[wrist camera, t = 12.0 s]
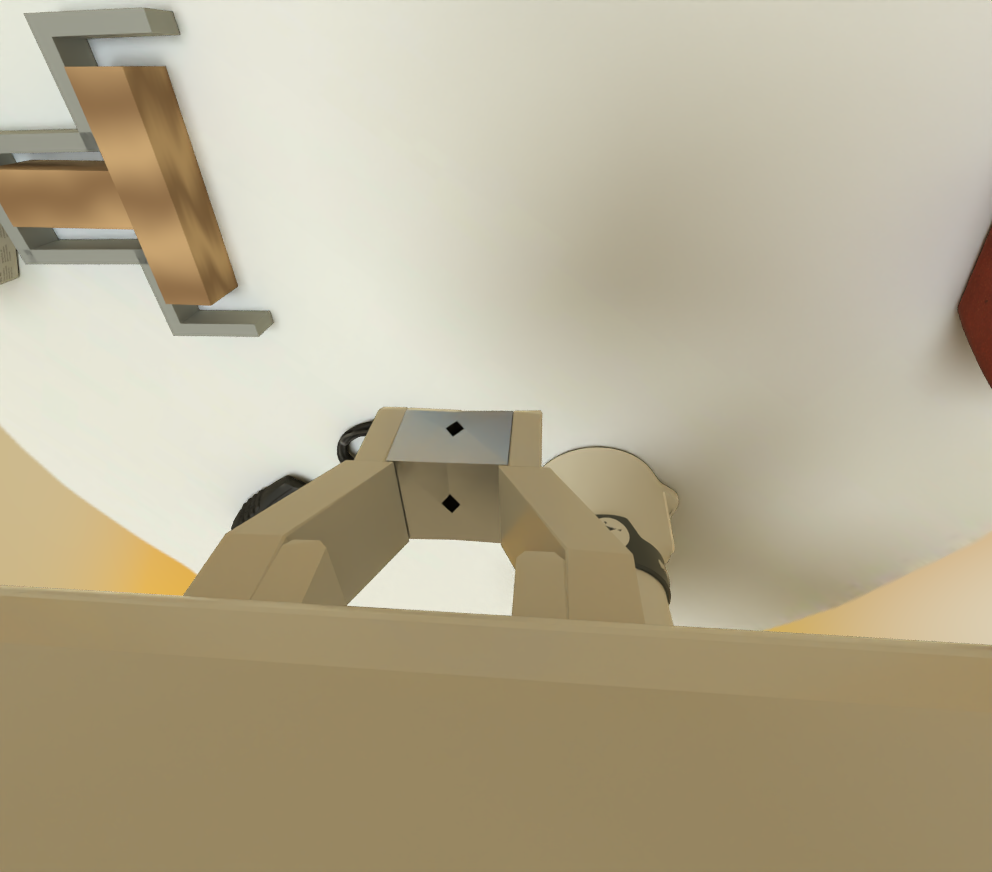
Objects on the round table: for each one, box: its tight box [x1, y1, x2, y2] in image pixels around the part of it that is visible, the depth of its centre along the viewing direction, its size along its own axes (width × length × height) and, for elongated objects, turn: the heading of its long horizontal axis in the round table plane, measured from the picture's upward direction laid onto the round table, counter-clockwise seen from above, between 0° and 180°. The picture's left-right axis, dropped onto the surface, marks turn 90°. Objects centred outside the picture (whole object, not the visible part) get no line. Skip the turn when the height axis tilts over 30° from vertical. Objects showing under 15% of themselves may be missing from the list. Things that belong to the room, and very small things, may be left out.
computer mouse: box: [231, 422, 372, 530], centre depth 57 cm, size 9×32×6 cm, turn 130°
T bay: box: [0, 8, 274, 337], centre depth 39 cm, size 22×19×3 cm
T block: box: [0, 66, 238, 306], centre depth 38 cm, size 16×14×4 cm
